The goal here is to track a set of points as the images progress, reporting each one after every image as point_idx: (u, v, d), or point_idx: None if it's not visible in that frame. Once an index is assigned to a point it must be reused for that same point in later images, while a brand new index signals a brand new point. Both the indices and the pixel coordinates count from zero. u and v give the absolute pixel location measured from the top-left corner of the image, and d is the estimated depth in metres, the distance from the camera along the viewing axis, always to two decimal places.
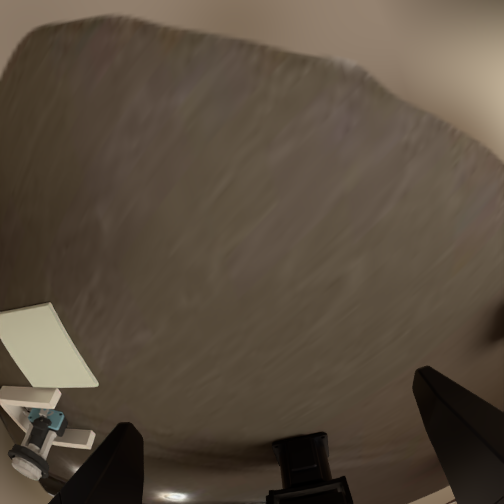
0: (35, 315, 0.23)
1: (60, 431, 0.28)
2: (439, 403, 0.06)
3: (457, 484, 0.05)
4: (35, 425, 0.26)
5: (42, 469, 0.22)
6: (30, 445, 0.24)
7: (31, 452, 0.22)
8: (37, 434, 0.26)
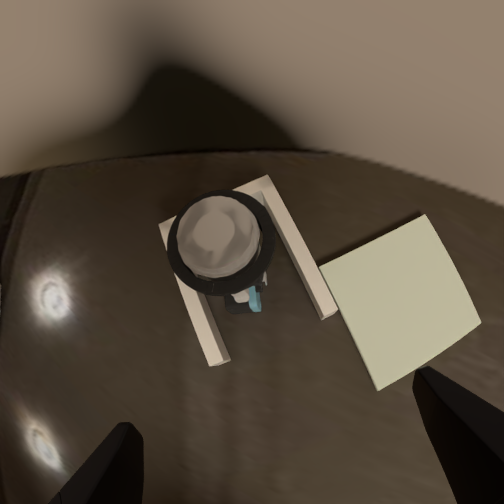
0: (463, 302, 0.20)
1: (240, 308, 0.21)
2: (439, 403, 0.06)
3: (457, 484, 0.05)
4: None
5: (237, 288, 0.14)
6: None
7: None
8: None
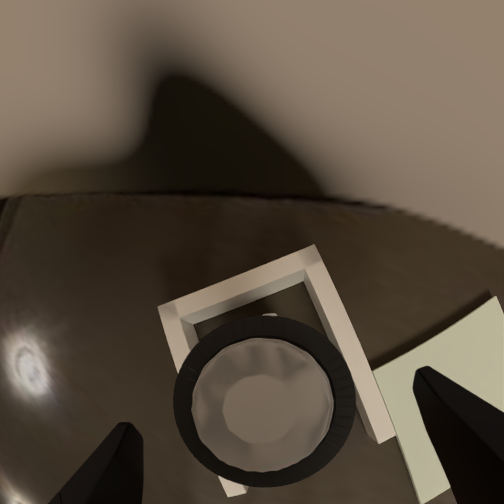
0: None
1: None
2: (439, 403, 0.06)
3: (457, 484, 0.05)
4: None
5: (290, 480, 0.07)
6: None
7: None
8: None
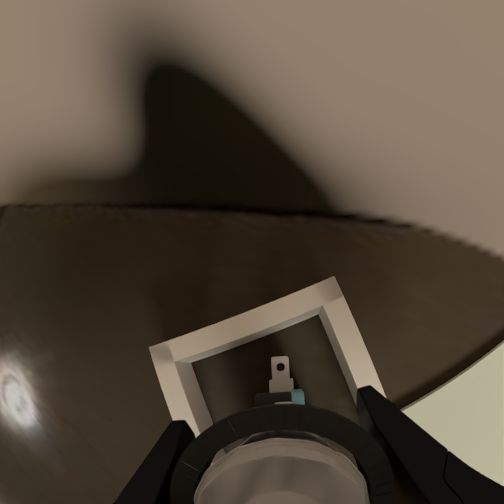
0: None
1: None
2: (374, 427, 0.07)
3: None
4: None
5: None
6: None
7: None
8: None
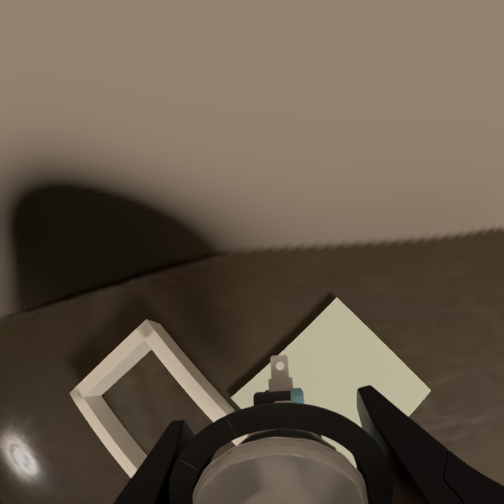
0: (404, 379, 0.19)
1: None
2: (374, 427, 0.07)
3: None
4: None
5: None
6: None
7: None
8: None
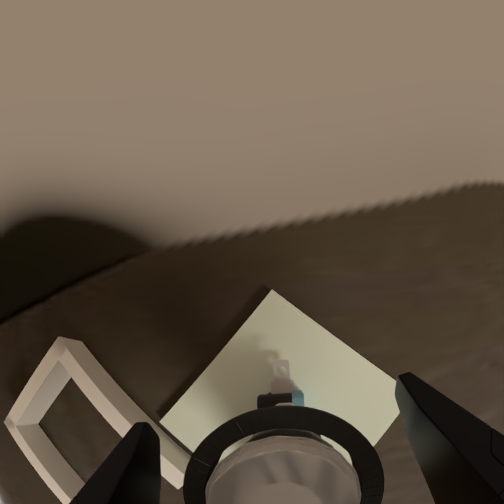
0: (375, 383, 0.15)
1: None
2: (419, 411, 0.06)
3: (438, 493, 0.05)
4: None
5: None
6: None
7: None
8: None
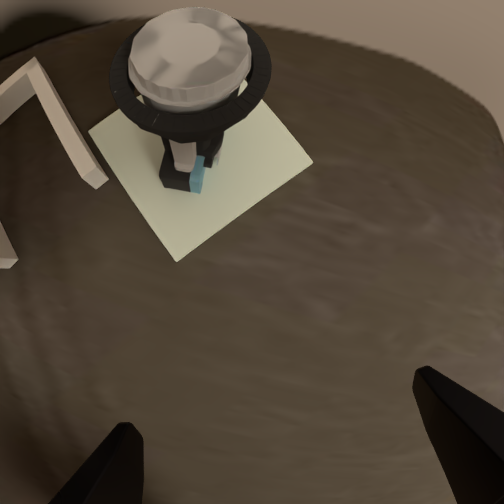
0: (281, 139, 0.18)
1: (176, 179, 0.15)
2: (439, 403, 0.06)
3: (457, 484, 0.05)
4: None
5: (190, 130, 0.09)
6: None
7: None
8: None
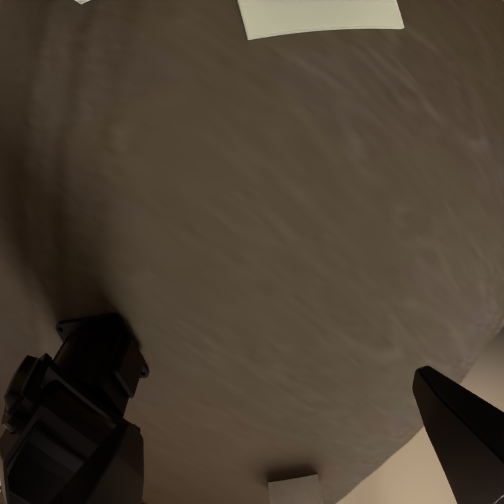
0: None
1: None
2: (439, 403, 0.06)
3: (457, 484, 0.05)
4: None
5: None
6: None
7: None
8: None
